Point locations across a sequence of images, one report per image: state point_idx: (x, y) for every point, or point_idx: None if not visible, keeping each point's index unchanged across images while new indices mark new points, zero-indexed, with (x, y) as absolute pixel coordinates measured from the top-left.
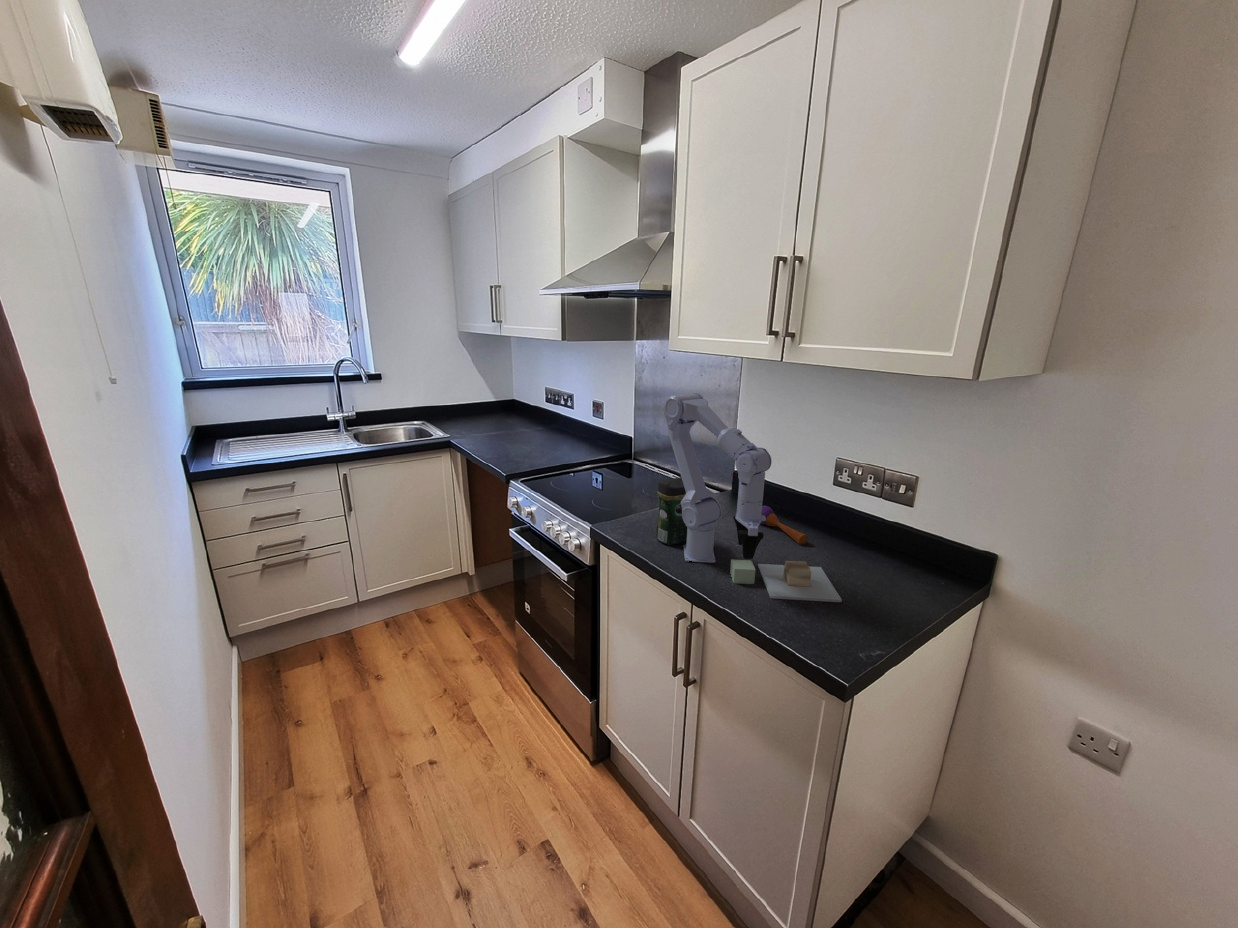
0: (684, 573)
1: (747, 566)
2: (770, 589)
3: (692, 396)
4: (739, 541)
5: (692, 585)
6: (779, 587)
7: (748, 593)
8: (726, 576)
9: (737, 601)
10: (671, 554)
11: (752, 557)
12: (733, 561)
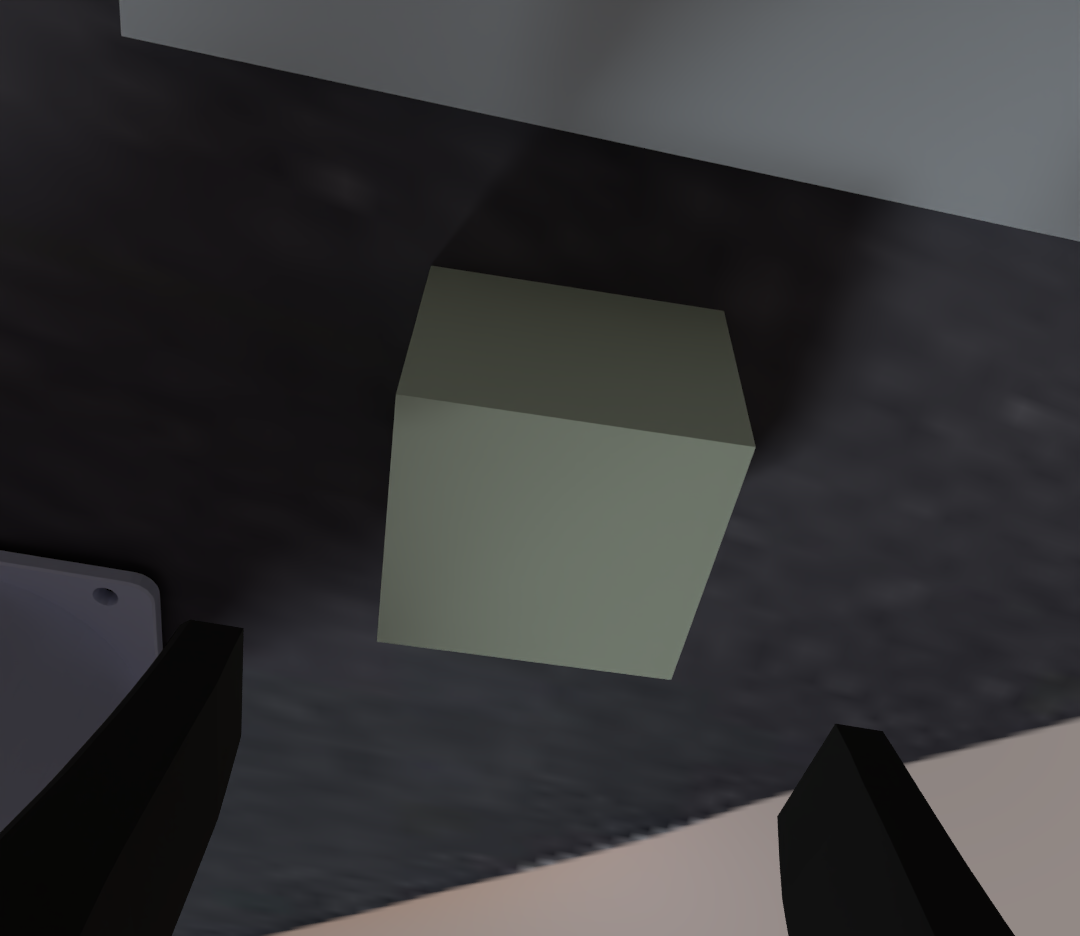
0: (409, 825)
1: (627, 520)
2: (1012, 188)
3: None
4: (217, 799)
5: (634, 821)
6: (1020, 6)
7: (930, 456)
8: None
9: (1037, 603)
10: None
11: (897, 763)
12: (440, 632)
